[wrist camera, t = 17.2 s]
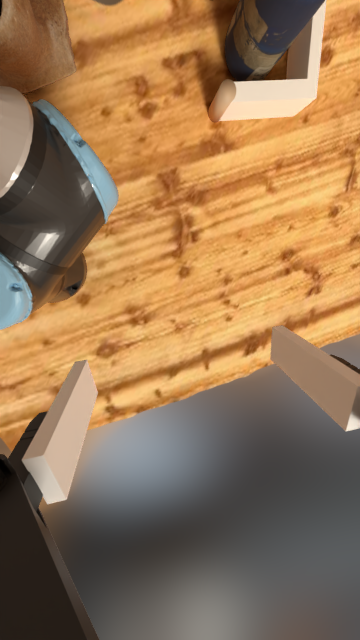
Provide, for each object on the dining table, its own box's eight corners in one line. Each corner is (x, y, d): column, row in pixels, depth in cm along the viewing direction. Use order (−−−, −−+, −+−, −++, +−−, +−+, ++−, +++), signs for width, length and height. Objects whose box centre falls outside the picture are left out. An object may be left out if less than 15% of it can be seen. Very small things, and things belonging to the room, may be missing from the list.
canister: (241, -2, 35) (329, -220, 18) (282, 43, 38) (392, -110, 21) (212, 66, 37) (267, -72, 21) (253, 103, 40) (331, 8, 23)
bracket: (208, 122, 40) (219, 102, 34) (201, -27, 33) (214, -84, 27) (293, 117, 42) (317, 97, 36) (303, -25, 35) (336, -78, 29)
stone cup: (11, 121, 36) (-73, 47, 22) (-39, 20, 31) (-185, -155, 17) (96, 94, 36) (68, 5, 22) (60, -10, 31) (-4, -202, 18)
